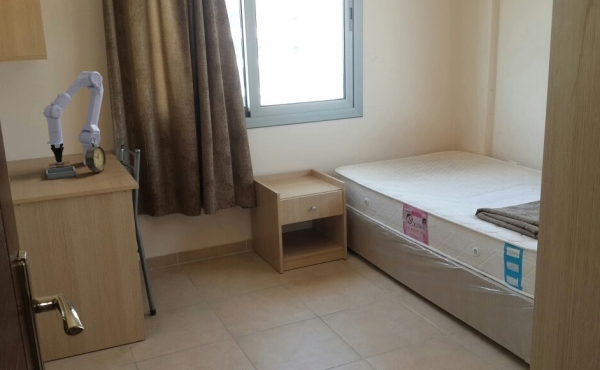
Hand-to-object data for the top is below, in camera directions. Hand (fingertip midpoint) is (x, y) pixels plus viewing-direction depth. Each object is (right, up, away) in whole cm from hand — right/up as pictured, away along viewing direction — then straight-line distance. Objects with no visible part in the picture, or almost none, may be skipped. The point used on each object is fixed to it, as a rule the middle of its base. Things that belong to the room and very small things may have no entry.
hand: (58, 160), depth 292 cm
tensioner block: (0, -4, +1) cm, 5 cm away
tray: (+5, -7, -9) cm, 12 cm away
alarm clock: (+19, -6, -5) cm, 21 cm away
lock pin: (0, -5, +1) cm, 5 cm away
